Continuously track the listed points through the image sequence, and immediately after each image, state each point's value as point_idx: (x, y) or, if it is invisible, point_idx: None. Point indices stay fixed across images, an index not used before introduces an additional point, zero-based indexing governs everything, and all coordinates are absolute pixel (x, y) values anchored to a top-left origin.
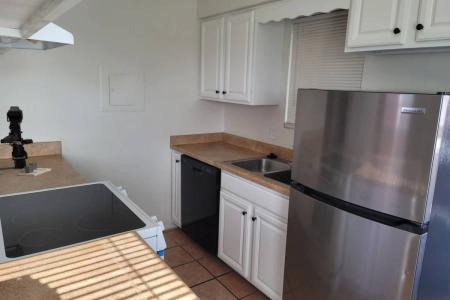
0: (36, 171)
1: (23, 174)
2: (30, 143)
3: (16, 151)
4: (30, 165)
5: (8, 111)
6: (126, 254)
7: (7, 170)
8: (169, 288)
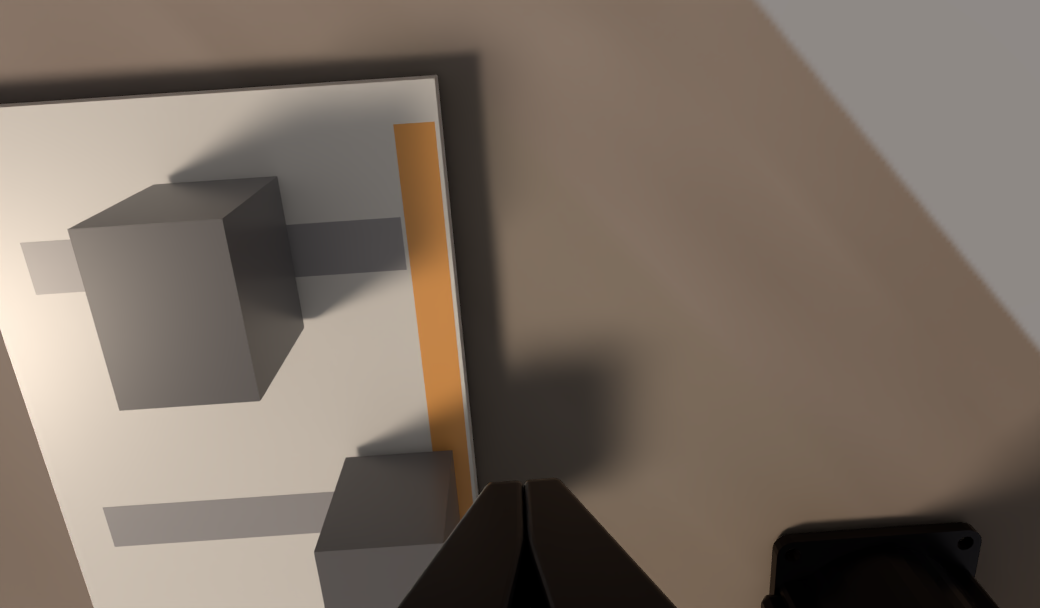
0: None
1: (253, 87)
2: None
3: (536, 577)
4: (175, 372)
5: None
6: None
7: (995, 391)
8: None
